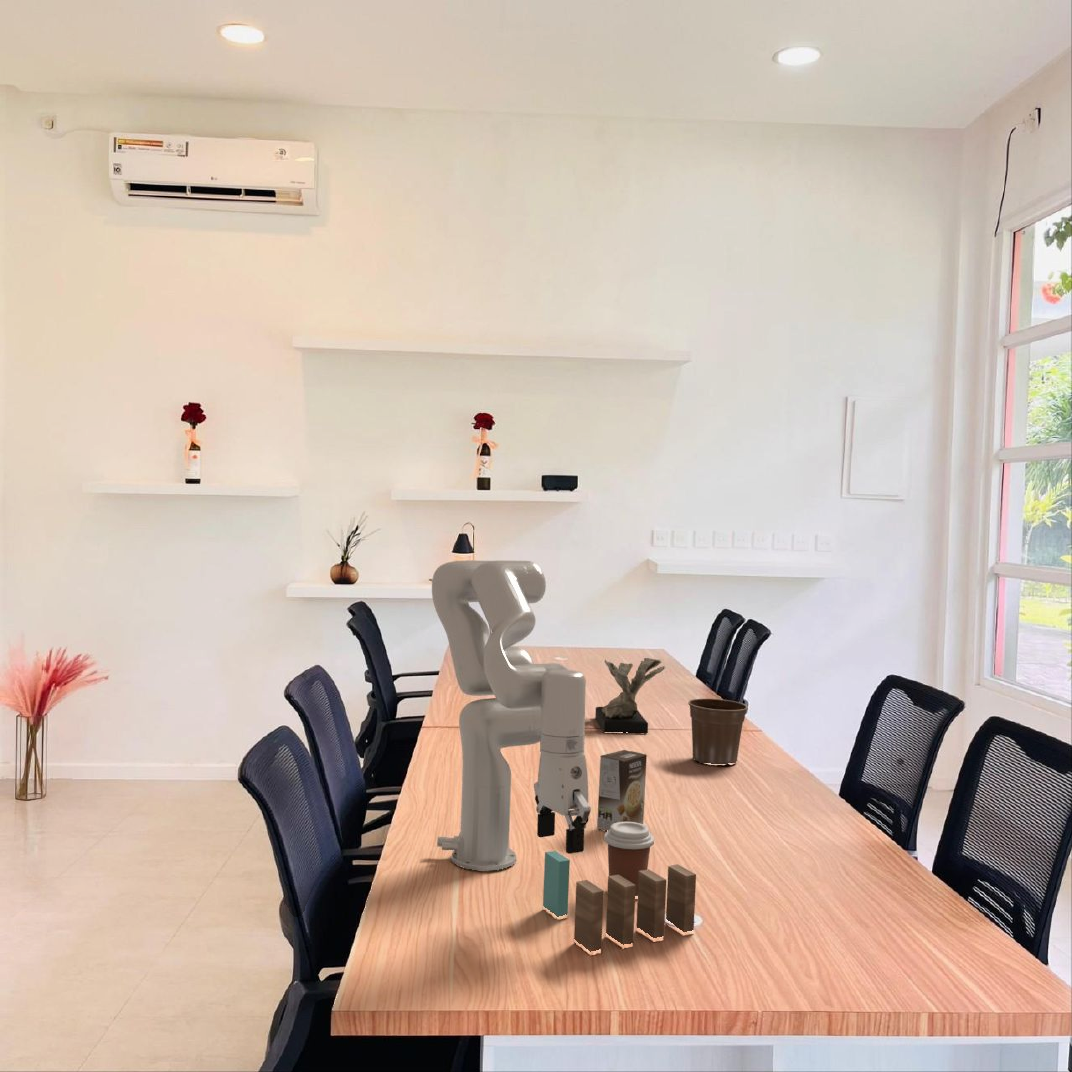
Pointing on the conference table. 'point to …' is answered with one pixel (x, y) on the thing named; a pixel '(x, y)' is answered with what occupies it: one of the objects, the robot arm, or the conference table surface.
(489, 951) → the conference table surface
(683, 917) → the domino
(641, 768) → the coffee box
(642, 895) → the domino
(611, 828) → the coffee cup
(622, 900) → the domino
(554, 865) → the teal domino
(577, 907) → the domino
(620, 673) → the coral
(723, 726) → the plant pot
